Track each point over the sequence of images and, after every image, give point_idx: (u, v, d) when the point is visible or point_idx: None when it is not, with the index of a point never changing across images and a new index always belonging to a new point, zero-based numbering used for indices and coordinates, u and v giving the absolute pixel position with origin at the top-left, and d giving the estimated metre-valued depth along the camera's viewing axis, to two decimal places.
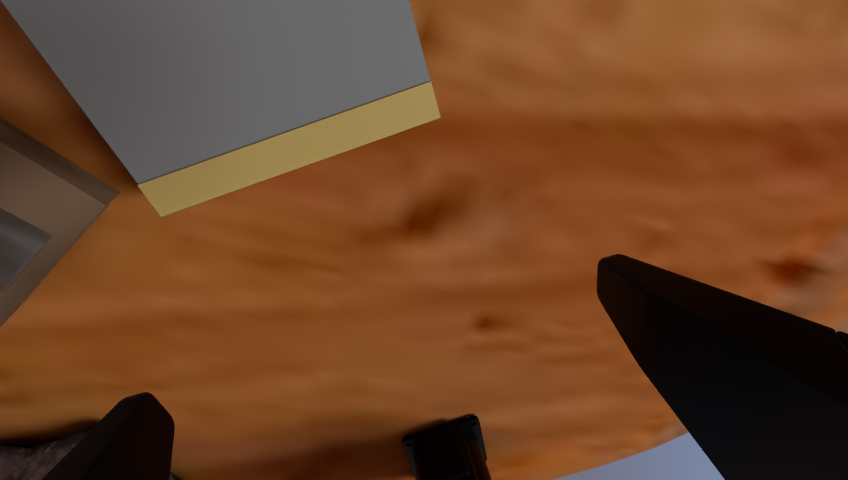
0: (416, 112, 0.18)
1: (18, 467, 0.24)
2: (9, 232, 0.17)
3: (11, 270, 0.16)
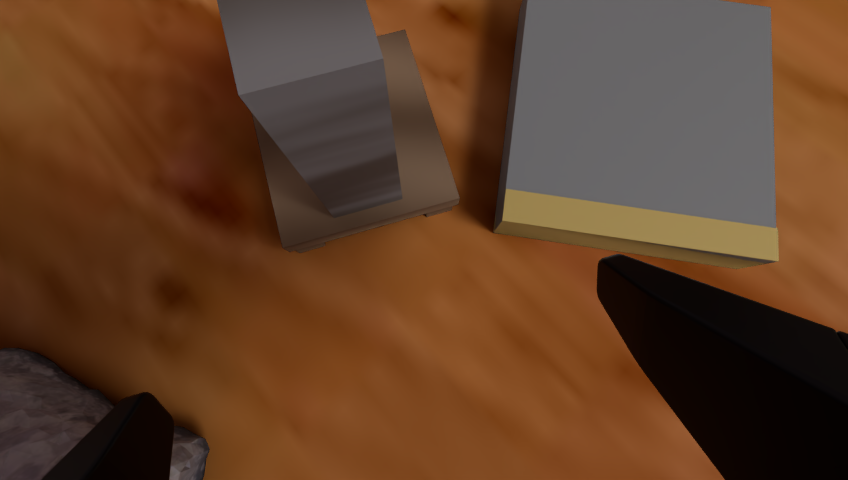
0: (757, 246, 0.20)
1: (102, 417, 0.18)
2: None
3: (399, 177, 0.18)
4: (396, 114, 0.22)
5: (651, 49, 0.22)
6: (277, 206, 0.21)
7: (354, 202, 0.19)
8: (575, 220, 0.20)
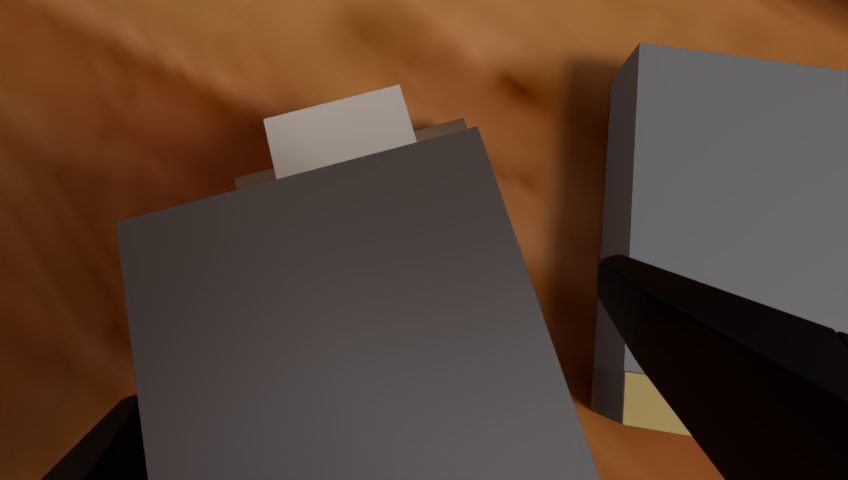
0: None
1: None
2: None
3: None
4: None
5: (819, 152, 0.15)
6: None
7: None
8: None
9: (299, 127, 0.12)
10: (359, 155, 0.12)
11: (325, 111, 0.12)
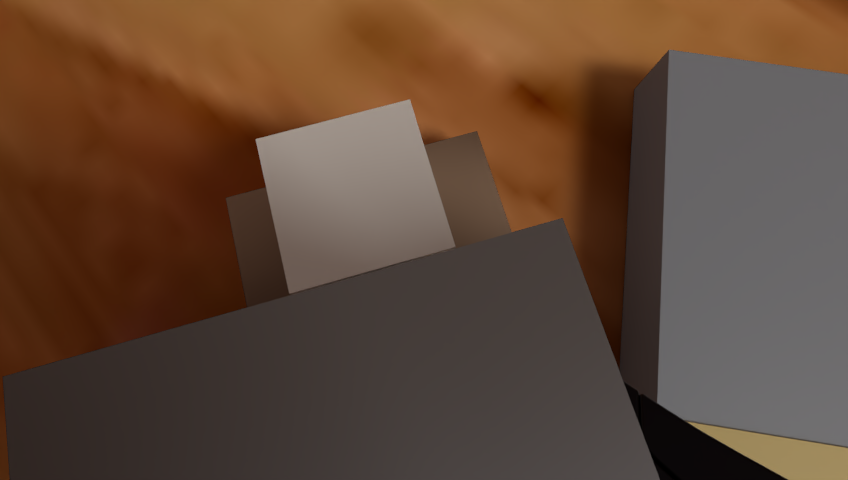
0: None
1: None
2: None
3: None
4: None
5: None
6: None
7: None
8: None
9: (296, 148, 0.10)
10: (364, 181, 0.10)
11: (326, 130, 0.11)
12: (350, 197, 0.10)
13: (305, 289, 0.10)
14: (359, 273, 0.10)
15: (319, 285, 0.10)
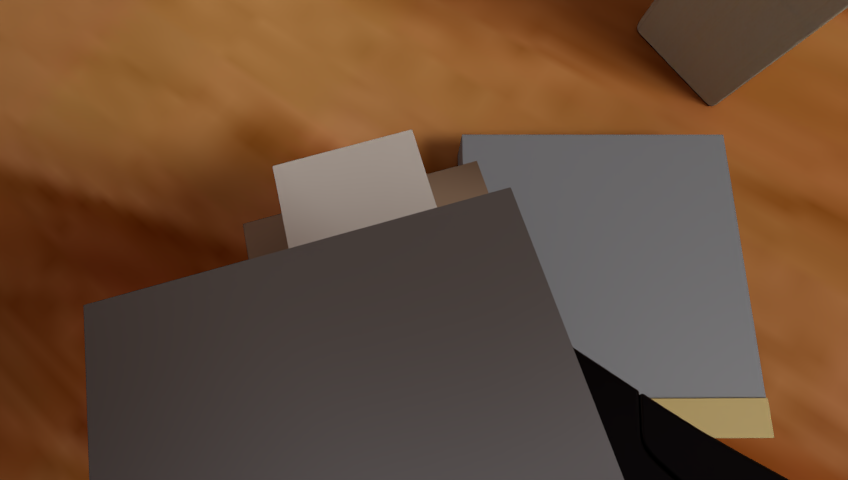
0: (749, 423, 0.18)
1: None
2: None
3: None
4: None
5: (603, 204, 0.20)
6: None
7: None
8: None
9: (309, 174, 0.11)
10: (370, 202, 0.11)
11: (336, 157, 0.12)
12: (357, 217, 0.11)
13: None
14: None
15: None
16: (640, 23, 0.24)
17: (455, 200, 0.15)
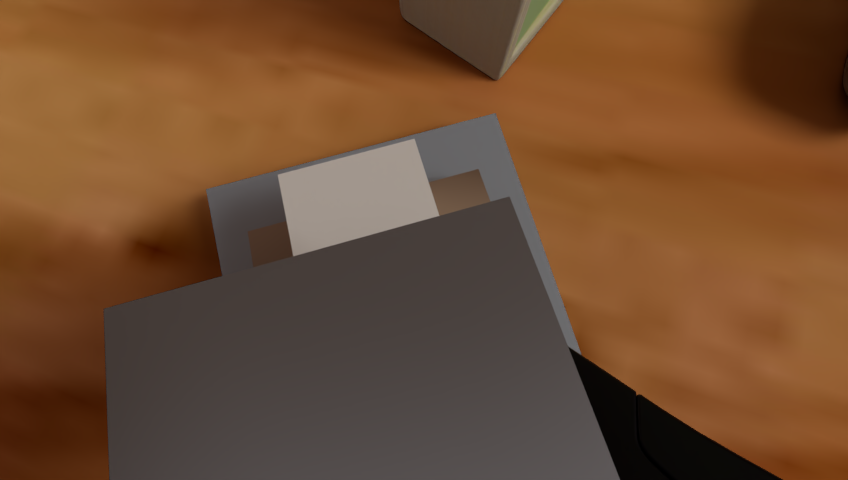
0: None
1: None
2: None
3: None
4: None
5: None
6: None
7: None
8: None
9: (313, 182, 0.12)
10: (373, 210, 0.11)
11: (340, 166, 0.12)
12: (361, 224, 0.11)
13: None
14: None
15: None
16: (401, 10, 0.22)
17: (457, 208, 0.16)
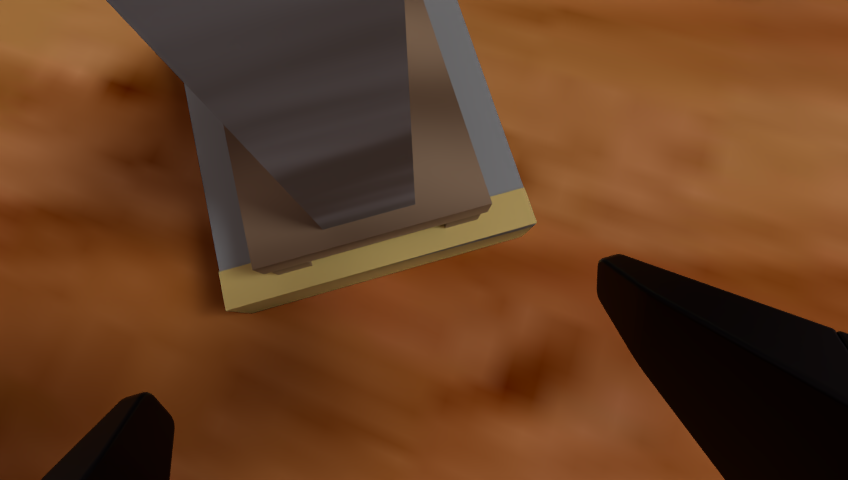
0: (510, 216, 0.17)
1: None
2: None
3: (412, 173, 0.13)
4: None
5: None
6: (246, 213, 0.15)
7: (349, 208, 0.14)
8: (308, 274, 0.17)
9: None
10: None
11: None
12: None
13: None
14: None
15: None
16: None
17: None
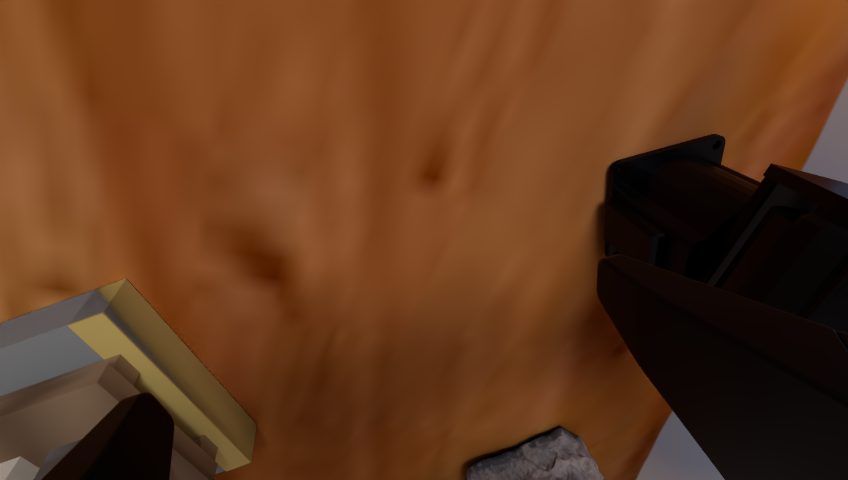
0: (105, 332, 0.19)
1: None
2: None
3: None
4: (13, 446, 0.19)
5: None
6: None
7: None
8: (211, 435, 0.24)
9: None
10: None
11: None
12: None
13: None
14: None
15: None
16: None
17: None
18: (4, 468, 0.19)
